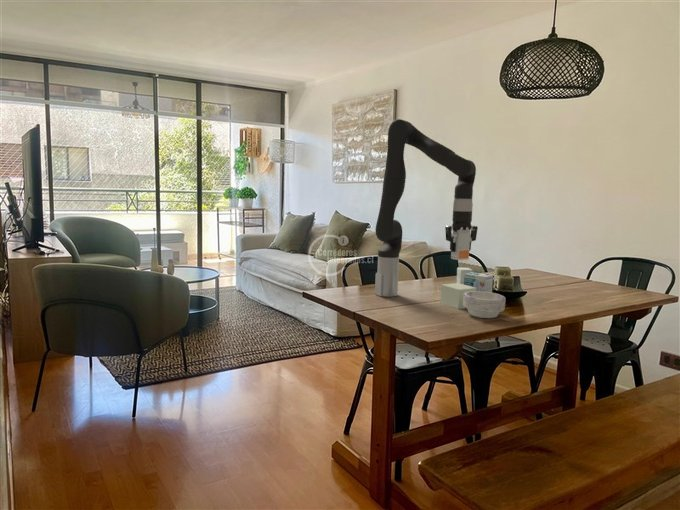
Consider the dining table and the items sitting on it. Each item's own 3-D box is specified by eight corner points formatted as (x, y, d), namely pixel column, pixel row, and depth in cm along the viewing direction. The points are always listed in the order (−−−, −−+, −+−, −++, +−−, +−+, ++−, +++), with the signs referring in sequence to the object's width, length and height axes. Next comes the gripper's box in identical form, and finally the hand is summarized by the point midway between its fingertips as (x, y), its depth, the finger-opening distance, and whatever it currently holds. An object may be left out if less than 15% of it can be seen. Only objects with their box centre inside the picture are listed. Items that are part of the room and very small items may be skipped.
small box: (471, 292, 228) (473, 270, 226) (459, 292, 228) (460, 269, 227) (467, 289, 236) (468, 267, 234) (455, 288, 236) (457, 267, 235)
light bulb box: (462, 297, 217) (463, 273, 215) (469, 295, 222) (471, 271, 220) (484, 301, 210) (486, 276, 208) (492, 299, 215) (493, 274, 213)
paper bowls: (512, 320, 180) (513, 298, 179) (474, 321, 177) (475, 299, 176) (491, 309, 195) (492, 290, 194) (455, 311, 192) (456, 291, 190)
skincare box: (457, 260, 196) (459, 230, 194) (450, 258, 200) (452, 229, 198) (469, 259, 199) (471, 230, 197) (462, 258, 203) (463, 229, 201)
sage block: (458, 309, 195) (459, 289, 194) (440, 303, 204) (441, 284, 203) (475, 307, 199) (476, 287, 198) (456, 301, 209) (457, 283, 208)
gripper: (452, 210, 191) (450, 253, 193) (483, 210, 196) (480, 252, 198) (441, 209, 198) (439, 250, 200) (472, 209, 203) (469, 250, 205)
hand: (460, 251), depth 199 cm, fingers closed on skincare box, 6 cm apart
